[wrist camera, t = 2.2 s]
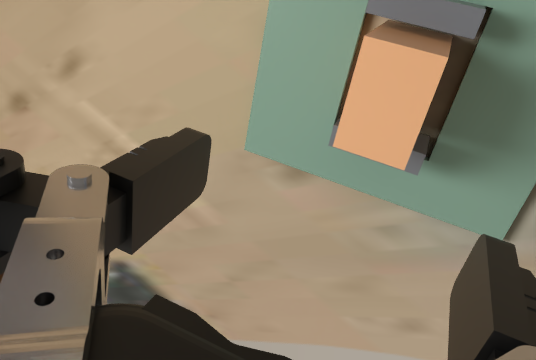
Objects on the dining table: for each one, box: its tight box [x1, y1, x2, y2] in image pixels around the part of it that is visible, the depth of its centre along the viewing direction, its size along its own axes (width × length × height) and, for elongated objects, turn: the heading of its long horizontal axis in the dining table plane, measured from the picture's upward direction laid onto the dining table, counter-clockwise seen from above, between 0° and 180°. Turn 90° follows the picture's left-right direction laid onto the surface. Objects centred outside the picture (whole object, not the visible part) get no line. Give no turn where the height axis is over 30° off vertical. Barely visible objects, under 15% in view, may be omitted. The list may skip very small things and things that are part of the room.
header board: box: [244, 0, 536, 240], centre depth 26 cm, size 20×18×4 cm
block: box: [333, 20, 453, 170], centre depth 25 cm, size 4×6×8 cm, turn 168°
